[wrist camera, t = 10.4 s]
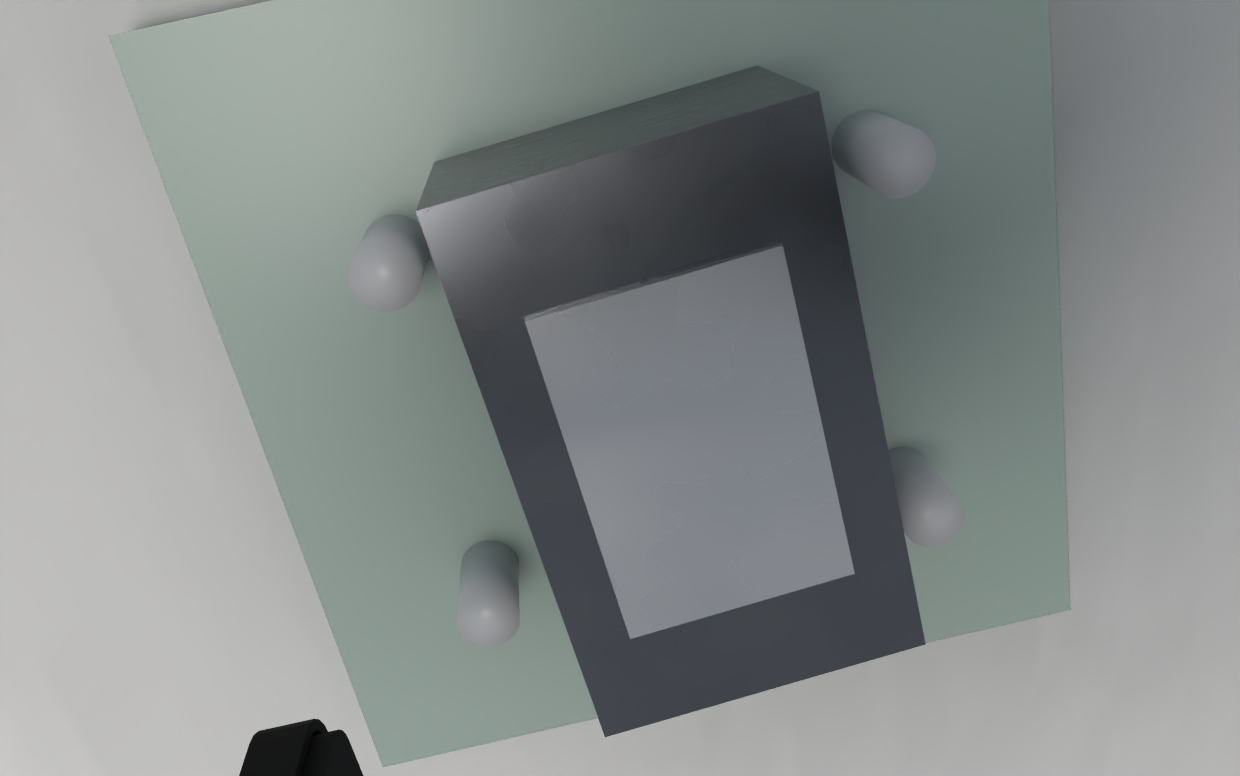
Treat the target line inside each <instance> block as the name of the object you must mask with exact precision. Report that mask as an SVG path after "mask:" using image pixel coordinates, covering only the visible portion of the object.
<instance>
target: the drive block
mask: <svg viewBox="0 0 1240 776" xmlns="http://www.w3.org/2000/svg"><path fill="white" fill-rule="evenodd" d="M416 214H417V217H418V219H419V222H420V225H421V228H422V231H423V233H424V236H425V239H426V242H427V244H428V247H429V250H430V253H431V256H432V258H433V261H434V264H435V267H436V269H437V272H438V275H439V278H440V280H441V283H442V286H443V289H444V292H445V294H446V297H447V300H448V303H449V305H450V308H451V311H452V314H453V317H454V319H455V322H456V325H457V328H458V330H459V333H460V336H461V339H462V342H463V344H464V347H465V350H466V353H467V355H468V358H469V361H470V364H471V366H472V369H473V372H474V375H475V378H476V380H477V383H478V386H479V389H480V391H481V394H482V397H483V400H484V403H485V405H486V408H487V411H488V414H489V416H490V419H491V422H492V425H493V427H494V430H495V433H496V436H497V439H498V441H499V444H500V447H501V450H502V452H503V455H504V458H505V461H506V464H507V466H508V469H509V472H510V475H511V477H512V480H513V483H514V486H515V488H516V491H517V494H518V497H519V500H520V502H521V505H522V508H523V511H524V513H525V516H526V519H527V522H528V525H529V527H530V530H531V533H532V536H533V538H534V541H535V544H536V547H537V549H538V552H539V555H540V558H541V561H542V563H543V566H544V569H545V572H546V574H547V577H548V580H549V583H550V586H551V588H552V591H553V594H554V597H555V599H556V602H557V605H558V608H559V610H560V613H561V616H562V619H563V622H564V624H565V627H566V630H567V633H568V635H569V638H570V641H571V644H572V647H573V649H574V652H575V655H576V658H577V660H578V663H579V666H580V669H581V672H582V674H583V677H584V680H585V683H586V685H587V688H588V691H589V694H590V696H591V699H592V702H593V705H594V708H595V710H596V713H597V716H598V719H599V721H600V724H601V727H602V730H603V733H604V735H605V737H607V736H611V735H614V734H618V733H621V732H624V731H628V730H631V729H635V728H638V727H642V726H645V725H649V724H652V723H656V722H659V721H662V720H666V719H669V718H673V717H676V716H680V715H683V714H687V713H690V712H693V711H697V710H700V709H704V708H707V707H711V706H714V705H718V704H721V703H724V702H728V701H731V700H735V699H738V698H742V697H745V696H749V695H752V694H756V693H759V692H762V691H766V690H769V689H773V688H776V687H780V686H783V685H787V684H790V683H793V682H797V681H800V680H804V679H807V678H811V677H814V676H818V675H821V674H824V673H828V672H831V671H835V670H838V669H842V668H845V667H849V666H852V665H856V664H859V663H862V662H866V661H869V660H873V659H876V658H880V657H883V656H887V655H890V654H893V653H897V652H900V651H904V650H907V649H911V648H914V647H918V646H921V645H924V644H926V643H925V638H924V633H923V628H922V623H921V617H920V612H919V607H918V602H917V597H916V592H915V586H914V581H913V576H912V571H911V566H910V560H909V555H908V550H907V545H906V540H905V535H904V529H903V524H902V519H901V514H900V509H899V503H898V498H897V493H896V488H895V483H894V477H893V472H892V467H891V462H890V457H889V452H888V446H887V441H886V436H885V431H884V426H883V420H882V415H881V410H880V405H879V400H878V395H877V389H876V384H875V379H874V374H873V369H872V363H871V358H870V353H869V348H868V343H867V338H866V332H865V327H864V322H863V317H862V312H861V306H860V301H859V296H858V291H857V286H856V280H855V275H854V270H853V265H852V260H851V255H850V249H849V244H848V239H847V234H846V229H845V223H844V218H843V213H842V208H841V203H840V198H839V192H838V187H837V182H836V177H835V172H834V166H833V161H832V156H831V151H830V146H829V141H828V135H827V130H826V125H825V120H824V115H823V109H822V104H821V99H820V94H819V91H817V90H815V89H813V88H810V87H808V86H806V85H803V84H801V83H798V82H796V81H794V80H791V79H789V78H786V77H784V76H782V75H779V74H777V73H775V72H772V71H770V70H767V69H765V68H763V67H760V66H758V65H757V66H753V67H750V68H747V69H743V70H740V71H737V72H733V73H730V74H727V75H723V76H720V77H717V78H713V79H710V80H707V81H703V82H700V83H697V84H693V85H690V86H686V87H683V88H680V89H676V90H673V91H670V92H666V93H663V94H660V95H656V96H653V97H650V98H646V99H643V100H640V101H636V102H633V103H630V104H626V105H623V106H620V107H616V108H613V109H609V110H606V111H603V112H599V113H596V114H593V115H589V116H586V117H583V118H579V119H576V120H573V121H569V122H566V123H563V124H559V125H556V126H553V127H549V128H546V129H543V130H539V131H536V132H532V133H529V134H526V135H522V136H519V137H516V138H512V139H509V140H506V141H502V142H499V143H496V144H492V145H489V146H486V147H482V148H479V149H476V150H472V151H469V152H466V153H462V154H459V155H455V156H452V157H449V158H445V159H442V160H439V161H435V162H434V164H433V166H432V169H431V172H430V174H429V177H428V180H427V182H426V185H425V188H424V190H423V193H422V196H421V198H420V201H419V204H418V206H417V209H416Z"/></svg>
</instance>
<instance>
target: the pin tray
mask: <svg viewBox="0 0 1240 776" xmlns="http://www.w3.org/2000/svg"><path fill="white" fill-rule="evenodd" d="M108 37H109V39H110V42H111V45H112V47H113V50H114V53H115V55H116V58H117V60H118V63H119V66H120V68H121V71H122V74H123V76H124V79H125V82H126V84H127V87H128V90H129V92H130V95H131V98H132V100H133V103H134V106H135V108H136V111H137V114H138V116H139V119H140V122H141V124H142V127H143V130H144V132H145V135H146V138H147V140H148V143H149V146H150V148H151V151H152V154H153V156H154V159H155V162H156V164H157V167H158V170H159V172H160V175H161V178H162V180H163V183H164V186H165V188H166V191H167V194H168V196H169V199H170V202H171V204H172V207H173V210H174V212H175V215H176V218H177V220H178V223H179V226H180V228H181V231H182V234H183V236H184V239H185V242H186V244H187V247H188V249H189V252H190V255H191V257H192V260H193V263H194V265H195V268H196V271H197V273H198V276H199V279H200V281H201V284H202V287H203V289H204V292H205V295H206V297H207V300H208V303H209V305H210V308H211V311H212V313H213V316H214V319H215V321H216V324H217V327H218V329H219V332H220V335H221V337H222V340H223V343H224V345H225V348H226V351H227V353H228V356H229V359H230V361H231V364H232V367H233V369H234V372H235V375H236V377H237V380H238V383H239V385H240V388H241V391H242V393H243V396H244V399H245V401H246V404H247V407H248V409H249V412H250V415H251V417H252V420H253V423H254V425H255V428H256V431H257V433H258V436H259V439H260V441H261V444H262V446H263V449H264V452H265V454H266V457H267V460H268V462H269V465H270V468H271V470H272V473H273V476H274V478H275V481H276V484H277V486H278V489H279V492H280V494H281V497H282V500H283V502H284V505H285V508H286V510H287V513H288V516H289V518H290V521H291V524H292V526H293V529H294V532H295V534H296V537H297V540H298V542H299V545H300V548H301V550H302V553H303V556H304V558H305V561H306V564H307V566H308V569H309V572H310V574H311V577H312V580H313V582H314V585H315V588H316V590H317V593H318V596H319V598H320V601H321V604H322V606H323V609H324V612H325V614H326V617H327V620H328V622H329V625H330V628H331V630H332V633H333V636H334V638H335V641H336V643H337V646H338V649H339V651H340V654H341V657H342V659H343V662H344V665H345V667H346V670H347V673H348V675H349V678H350V681H351V683H352V686H353V689H354V691H355V694H356V697H357V699H358V702H359V705H360V707H361V710H362V713H363V715H364V718H365V721H366V723H367V726H368V729H369V731H370V734H371V737H372V739H373V742H374V745H375V747H376V750H377V753H378V755H379V758H380V761H381V763H382V766H383V767H386V766H390V765H395V764H399V763H404V762H408V761H412V760H417V759H421V758H425V757H430V756H434V755H439V754H443V753H447V752H452V751H456V750H460V749H465V748H469V747H473V746H478V745H482V744H487V743H491V742H495V741H500V740H504V739H508V738H513V737H517V736H521V735H526V734H530V733H535V732H539V731H543V730H548V729H552V728H556V727H561V726H565V725H569V724H574V723H578V722H583V721H587V720H591V719H596V718H598V716H597V713H596V710H595V708H594V705H593V702H592V699H591V696H590V694H589V691H588V688H587V685H586V683H585V680H584V677H583V674H582V672H581V669H580V666H579V663H578V660H577V658H576V655H575V652H574V649H573V647H572V644H571V641H570V638H569V635H568V633H567V630H566V627H565V624H564V622H563V619H562V616H561V613H560V610H559V608H558V605H557V602H556V599H555V597H554V594H553V591H552V588H551V586H550V583H549V580H548V577H547V574H546V572H545V569H544V566H543V563H542V561H541V558H540V555H539V552H538V549H537V547H536V544H535V541H534V538H533V536H532V533H531V530H530V527H529V525H528V522H527V519H526V516H525V513H524V511H523V508H522V505H521V502H520V500H519V497H518V494H517V491H516V488H515V486H514V483H513V480H512V477H511V475H510V472H509V469H508V466H507V464H506V461H505V458H504V455H503V452H502V450H501V447H500V444H499V441H498V439H497V436H496V433H495V430H494V427H493V425H492V422H491V419H490V416H489V414H488V411H487V408H486V405H485V403H484V400H483V397H482V394H481V391H480V389H479V386H478V383H477V380H476V378H475V375H474V372H473V369H472V366H471V364H470V361H469V358H468V355H467V353H466V350H465V347H464V344H463V342H462V339H461V336H460V333H459V330H458V328H457V325H456V322H455V319H454V317H453V314H452V311H451V308H450V305H449V303H448V300H447V297H446V294H445V292H444V289H443V286H442V283H441V280H440V278H439V275H438V272H437V269H436V267H435V264H434V261H433V258H432V256H431V253H430V250H429V247H428V244H427V242H426V239H425V236H424V233H423V231H422V228H421V225H420V222H419V219H418V217H417V214H416V209H417V206H418V204H419V201H420V198H421V196H422V193H423V190H424V188H425V185H426V182H427V180H428V177H429V174H430V172H431V169H432V166H433V164H434V162H435V161H439V160H442V159H445V158H449V157H452V156H455V155H459V154H462V153H466V152H469V151H472V150H476V149H479V148H482V147H486V146H489V145H492V144H496V143H499V142H502V141H506V140H509V139H512V138H516V137H519V136H522V135H526V134H529V133H532V132H536V131H539V130H543V129H546V128H549V127H553V126H556V125H559V124H563V123H566V122H569V121H573V120H576V119H579V118H583V117H586V116H589V115H593V114H596V113H599V112H603V111H606V110H609V109H613V108H616V107H620V106H623V105H626V104H630V103H633V102H636V101H640V100H643V99H646V98H650V97H653V96H656V95H660V94H663V93H666V92H670V91H673V90H676V89H680V88H683V87H686V86H690V85H693V84H697V83H700V82H703V81H707V80H710V79H713V78H717V77H720V76H723V75H727V74H730V73H733V72H737V71H740V70H743V69H747V68H750V67H753V66H757V65H758V66H760V67H763V68H765V69H767V70H770V71H772V72H775V73H777V74H779V75H782V76H784V77H786V78H789V79H791V80H794V81H796V82H798V83H801V84H803V85H806V86H808V87H810V88H813V89H815V90H817V91H819V94H820V99H821V104H822V109H823V115H824V120H825V125H826V130H827V135H828V141H829V146H830V151H831V156H832V161H833V166H834V172H835V177H836V182H837V187H838V192H839V198H840V203H841V208H842V213H843V218H844V223H845V229H846V234H847V239H848V244H849V249H850V255H851V260H852V265H853V270H854V275H855V280H856V286H857V291H858V296H859V301H860V306H861V312H862V317H863V322H864V327H865V332H866V338H867V343H868V348H869V353H870V358H871V363H872V369H873V374H874V379H875V384H876V389H877V395H878V400H879V405H880V410H881V415H882V420H883V426H884V431H885V436H886V441H887V446H888V452H889V457H890V462H891V467H892V472H893V477H894V483H895V488H896V493H897V498H898V503H899V509H900V514H901V519H902V524H903V529H904V535H905V540H906V545H907V550H908V555H909V560H910V566H911V571H912V576H913V581H914V586H915V592H916V597H917V602H918V607H919V612H920V617H921V623H922V628H923V633H924V638H925V643H927V642H932V641H936V640H941V639H945V638H949V637H954V636H958V635H962V634H967V633H971V632H975V631H980V630H984V629H989V628H993V627H997V626H1002V625H1006V624H1010V623H1015V622H1019V621H1023V620H1028V619H1032V618H1037V617H1041V616H1045V615H1050V614H1054V613H1058V612H1063V611H1067V610H1071V608H1070V580H1069V551H1068V523H1067V495H1066V466H1065V438H1064V409H1063V381H1062V352H1061V324H1060V295H1059V267H1058V239H1057V210H1056V182H1055V153H1054V125H1053V96H1052V68H1051V39H1050V11H1049V0H270V1H266V2H261V3H257V4H252V5H247V6H243V7H238V8H234V9H229V10H225V11H220V12H215V13H211V14H206V15H202V16H197V17H193V18H188V19H183V20H179V21H174V22H170V23H165V24H160V25H156V26H151V27H147V28H142V29H138V30H133V31H128V32H124V33H119V34H115V35H110V36H108Z"/></svg>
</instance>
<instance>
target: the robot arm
mask: <svg viewBox="0 0 1240 776" xmlns="http://www.w3.org/2000/svg"><path fill="white" fill-rule="evenodd" d="M239 776H363V774H362V771H361V769H360V766H359V764H358V761H357V759H356V757H355V754H354V752H353V749H352V747H351V744H350V742H349V739H348V737H347V736H346V734H345V733H344V732H343V731H342V730H335V731H331V732H328V731H327V729H326V727H325V725H324V724H323V723H322V722H321V721H320V720H319V719H312V720H307V721H302V722H298V723H293V724H289V725H284V726H280V727H275V728H271V729H266V730H262V731H258V732H257V733H256V734H255V735H254V736H253V738H252V740H251V742H250V744H249V747H248V750H247V753H246V756H245V759H244V763H243V766H242V769H241V772H240V775H239Z"/></svg>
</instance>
